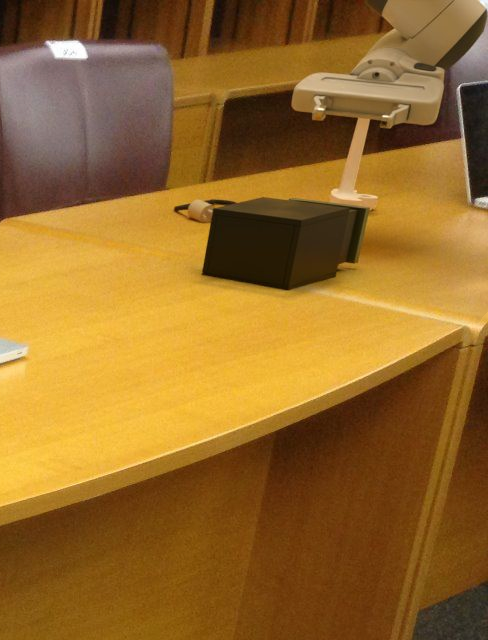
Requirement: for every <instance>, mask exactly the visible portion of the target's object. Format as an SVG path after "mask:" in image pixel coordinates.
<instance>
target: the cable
mask: <svg viewBox="0 0 488 640" xmlns="http://www.w3.org/2000/svg"><path fill="white" fill-rule="evenodd" d="M235 203H237V202H236V201H233V200H228V199H227V200H226V199H216V198H215V199H213V198H212V199H207V200H202V199H199V198H197V199H195V200H193V201H191V203H186V204H180V205H175V206H174V208H173V210H174V211H176V212H177V211H187V216H188V217H189V218H191V219H193V220H195V221H197V222H200V223H211V219H212V212H213V208H216V207H215V206H214V205H224V206H226V205H231V204H235Z"/></svg>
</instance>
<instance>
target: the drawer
mask: <svg viewBox="0 0 488 640" xmlns="http://www.w3.org/2000/svg"><path fill="white" fill-rule="evenodd" d="M288 200H291V201H299V202H307V203H315V204H323V205H331V206H339V207H347V208H350V211H349V216H348V220H347V225H346V230H345V234H344V239H343V244H342V248H341V253H340V258H339V262H338V265H341V264H345V263H347V264H352V265H353V264H357V263H359V259H360V255H361V250H362V246H363V241H364V237H365V232H366V227H367V223H368V220H369V214H370V211H369V210H370V207H363V206H355V205H347V204H339V203H331V202H329V201H323V200H313V199H306V198H297V197H290V198H288Z"/></svg>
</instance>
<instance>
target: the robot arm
mask: <svg viewBox="0 0 488 640" xmlns="http://www.w3.org/2000/svg"><path fill="white" fill-rule="evenodd" d="M365 5H366V6H367V7H368V8H370V9H371V10H372V11H373V12H374V13H376V14H377V15H379V16H380V17H381V18H383V19H385V20H386V21H387V23H389V25H390V26H392V27H393V29H391V30H389V32H387V33H386V34H384V35H383V36H381V38H379V39H378V40H377V41H376V42H375V43H374V44H373V45H372V47H371V48H370V49H369V50H368V51H367V53H366V54H365V55H364V56H363V57H362V59H361V60H360V61H359V62H358V63H357V65H356V66H355V67H354V68H353V69H352V70H351V72H349V74H345V73H333V72H315V73H311V74H309V75H308V76H306V77H304V78H303V79H302V80H300V81H299V82H298V83H297V84H296V85H295V86H294V89H293V92H292V97H291V105H290V106H291V108H292V109H293V110H294V111H296V112H303V113H311V114H312V115H311V120H312V121H319V122H321V121H322V122H323V121H324V120H325V118H326V116H327V115H329V116H339V117H349V118H357V119H358V118H365V119H370V120H376V121H380V124H379V128H380V129H381V128H382V129H391V128H392V127H393V126H396V125H399V124H403V123H404V124H410V125H411V124H413V125H419V126H429V125H433V124H434V123H435V122H436V121H437V119H438V115H439V112H440V108H441V105H442V104H441V103H442V99H443V94H444V89H445V84H444V81H445V72H446V71H448V70H449V69H450V68H452V67H453V66H455V64H457V63H458V62H459V61H460V60H461V59H462V58H463V57H464V56H465V55H466V54H467V53H468V52H469V51H470V50H471V48H472V47H474V45H475V44H476V42H477V41H478V40H479V39H480V37H481V36H482V34H483V33H484V32H485V28H486V24H487V20H488V9H487V8H486V7H485V6H484V5H483V3H482V2H481V1H480V0H365Z"/></svg>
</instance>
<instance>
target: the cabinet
mask: <svg viewBox="0 0 488 640" xmlns="http://www.w3.org/2000/svg"><path fill="white" fill-rule="evenodd" d="M349 211H350V208H347V207H339V206H331V205H323V204H315V203H307V202H299V201H291V200H289V199H284V198H283V199H282V198H274V197H266V196H262V197H258V198H253V199H249V200H245V201H239V202H236V203H235V204H231V205H222V206H218V207H215V208H213V212H212V219H211V221H210V225H209V230H208V235H207V242H206V247H205V253H204V260H203V265H202V271H201V276H204V277H205V276H206V277H210V278H211V277H212V278H217V279H222V280H227V281H233V282H237V283H238V282H240V283H244V284H248V285H249V284H251V285H255V286H259V287H265V288H272V289H276V290H281V291H291V290H295V289H298V288H302V287H305V286H308V285H309V286H310V285H312V284H316V283H319V282H322V281H326V280H330V279H333V278H336V276H337V271H338V267H339V264H338V262H339V258H340V253H341V248H342V244H343V239H344V234H345V230H346V225H347V220H348V216H349Z"/></svg>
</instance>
